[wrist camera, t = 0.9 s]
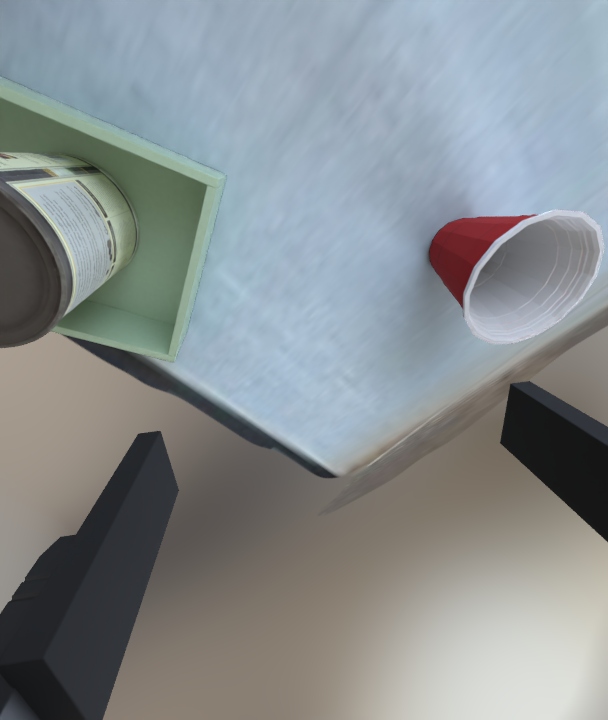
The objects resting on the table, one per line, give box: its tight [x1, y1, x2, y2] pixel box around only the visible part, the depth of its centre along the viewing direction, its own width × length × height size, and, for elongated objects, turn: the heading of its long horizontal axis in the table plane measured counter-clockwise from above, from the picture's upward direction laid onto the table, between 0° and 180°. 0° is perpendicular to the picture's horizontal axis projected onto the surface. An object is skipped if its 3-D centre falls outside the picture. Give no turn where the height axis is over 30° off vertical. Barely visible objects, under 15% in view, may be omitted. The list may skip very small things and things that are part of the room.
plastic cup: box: [429, 210, 605, 344], centre depth 30 cm, size 11×11×12 cm
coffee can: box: [0, 152, 140, 348], centre depth 23 cm, size 10×10×14 cm
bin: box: [0, 76, 227, 362], centre depth 27 cm, size 16×22×6 cm
